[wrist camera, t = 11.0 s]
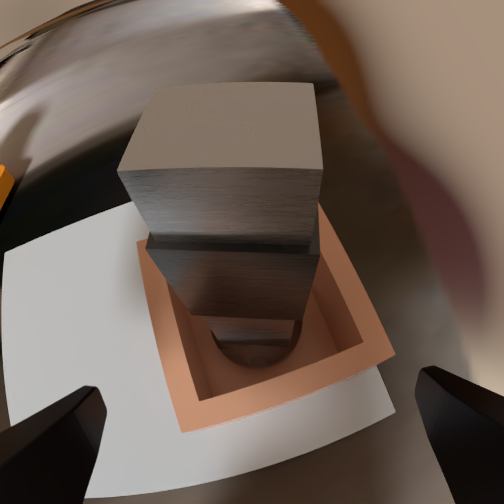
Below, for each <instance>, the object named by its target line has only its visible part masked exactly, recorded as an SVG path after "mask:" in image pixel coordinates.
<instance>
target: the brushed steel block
mask: <svg viewBox="0 0 504 504" xmlns="http://www.w3.org/2000/svg"><path fill="white" fill-rule="evenodd" d="M117 173H118V175H119V176H120V178H121V180H122V182H123V184H124V186H125V188H126V189H127V191H128V193H129V195H130V197H131V199H132V200H133V202H134V204H135V206H136V208H137V209H138V211H139V213H140V215H141V216H142V218H143V220H144V222H145V223H146V225H147V227H148V229H149V230H150V232H149V236H148V240H147V244H146V248H145V250H146V251H147V253H148V254H149V255H150V257H151V258H152V260H153V261H154V263H155V264H156V266H157V267H158V269H159V270H160V272H161V273H162V275H163V276H164V277H165V279H166V280H167V282H168V283H169V285H170V286H171V287H172V289H173V290H174V292H175V293H176V294H177V296H178V297H179V299H180V300H181V301H182V303H183V304H184V306H185V307H186V308H187V310H188V311H189V312H190V314H191V315H200V316H202V317H203V318H204V320H205V321H206V323H207V324H208V326H209V327H210V329H211V333H212V337H213V339H214V341H215V343H216V345H217V347H218V348H219V349H220V351H221V352H222V353H223V355H224V356H225V357H226V358H227V359H229V360H230V361H231V362H233V363H235V364H236V365H238V366H241V367H244V368H248V369H266V368H269V367H273V366H275V365H277V364H279V363H281V362H282V361H284V360H285V359H286V358H287V357H288V356H289V355H290V354H291V353H292V352H293V350H294V349H295V347H296V345H297V343H298V341H299V338H300V335H301V331H302V323H303V321H302V320H303V316H304V313H305V309H306V306H307V302H308V299H309V295H310V292H311V288H312V284H313V281H314V277H315V273H316V269H317V266H318V262H319V258H320V233H319V212H318V198H319V192H320V186H321V180H322V174H323V162H322V152H321V142H320V133H319V125H318V117H317V109H316V101H315V94H314V86H313V83H295V82H233V83H211V84H197V85H185V86H174V87H165V88H156V89H155V91H154V93H153V95H152V97H151V99H150V101H149V103H148V105H147V107H146V108H145V110H144V112H143V114H142V117H141V119H140V121H139V123H138V125H137V127H136V129H135V131H134V133H133V135H132V138H131V140H130V142H129V144H128V146H127V149H126V151H125V153H124V155H123V158H122V160H121V162H120V165H119V167H118V169H117Z"/></svg>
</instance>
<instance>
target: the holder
mask: <svg viewBox="0 0 504 504" xmlns="http://www.w3.org/2000/svg"><path fill="white" fill-rule="evenodd" d="M318 212H319V233H320V258H319V262H318V266H317V269H316V273H315V277H314V281H313V284H312V288H311V292H310V295H309V299H308V302H307V306H306V309H305V313H304V316H303V320H302V321H303V323H302V331H301V335H300V338H299V341H298V343H297V345H296V347H295V349H294V350H293V352H292V353H291V354H290V355H289V356H288V357H287V358H286V359H285V360H284V361H282V362H281V363H279V364H277V365H275V366H273V367H269V368H266V369H248V368H244V367H241V366H238V365H236V364H235V363H233V362H231V361H230V360H229V359H227V358H226V357H225V356H224V355H223V353H222V352H221V351H220V349H219V348H218V347H217V345H216V343H215V341H214V339H213V337H212V333H211V329H210V327H209V326H208V324H207V323H206V321H205V320H204V318H203V317H202V316H200V315H191V314H190V312H189V311H188V310H187V308H186V307H185V306H184V304H183V303H182V301H181V300H180V299H179V297H178V296H177V294H176V293H175V292H174V290H173V289H172V287H171V286H170V285H169V283H168V282H167V280H166V279H165V277H164V276H163V275H162V273H161V272H160V270H159V269H158V267H157V266H156V264H155V263H154V261H153V260H152V258H151V257H150V255H149V254H148V253H147V251H146V250H145V248H146V244H147V240H148V238H147V239H144V240H141V241H138V242H136V244H137V250H138V256H139V262H140V268H141V273H142V279H143V284H144V289H145V294H146V299H147V304H148V309H149V313H150V318H151V323H152V327H153V331H154V336H155V340H156V344H157V348H158V352H159V356H160V360H161V364H162V368H163V372H164V375H165V379H166V383H167V386H168V390H169V394H170V397H171V400H172V404H173V407H174V411H175V414H176V417H177V420H178V424H179V427H180V430H181V433H187V432H194V431H200V430H206V429H210V428H213V427H217V426H220V425H224V424H227V423H231V422H234V421H238V420H241V419H244V418H247V417H251V416H254V415H257V414H260V413H263V412H266V411H269V410H272V409H275V408H277V407H280V406H283V405H286V404H289V403H291V402H294V401H297V400H299V399H302V398H305V397H307V396H310V395H312V394H315V393H317V392H320V391H322V390H325V389H327V388H330V387H332V386H334V385H337V384H339V383H341V382H344V381H346V380H348V379H351V378H353V377H355V376H357V375H359V374H362V373H364V372H366V371H368V370H369V369H371V368H373V367H375V366H377V365H378V364H380V363H382V362H384V361H385V360H387V359H389V358H391V357H392V356H394V355H396V354H395V352H394V350H393V348H392V345H391V343H390V341H389V339H388V337H387V334H386V332H385V330H384V328H383V326H382V324H381V322H380V320H379V317H378V315H377V313H376V311H375V309H374V307H373V305H372V303H371V301H370V299H369V297H368V295H367V293H366V291H365V289H364V287H363V285H362V283H361V281H360V279H359V277H358V275H357V273H356V271H355V269H354V267H353V265H352V263H351V261H350V259H349V257H348V255H347V254H346V252H345V250H344V248H343V246H342V244H341V242H340V240H339V239H338V237H337V235H336V233H335V231H334V229H333V228H332V226H331V224H330V222H329V220H328V218H327V217H326V215H325V213H324V211H323V210H322V208H321V206H320V204H319V202H318Z"/></svg>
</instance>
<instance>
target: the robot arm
mask: <svg viewBox="0 0 504 504" xmlns="http://www.w3.org/2000/svg"><path fill="white" fill-rule="evenodd" d="M415 399H416V402H417V405H418V408H419V411H420V414H421V417H422V421H423V424H424V427H425V430H426V433H427V436H428V439H429V442H430V444H431V446H432V449H433V451H434V453H435V455H436V458H437V460H438V462H439V465H440V467H441V469H442V472H443V474H444V477H445V479H446V482H447V484H448V486H449V489H450V491H451V494H452V496H453V499H454V502H455V504H504V396H501V395H499V394H497V393H494V392H492V391H490V390H488V389H486V388H483V387H481V386H479V385H477V384H474V383H472V382H470V381H468V380H465V379H463V378H461V377H459V376H457V375H454V374H452V373H450V372H448V371H446V370H443V369H441V368H439V367H437V366H434V365H433V366H428V367H423V368H422V369H421V370H420V372H419V375H418V379H417V384H416V387H415ZM106 418H107V408H106V405H105V403H104V400H103V398H102V395H101V392H100V390H99V389H98V387H96V386H89V385H84V386H82V387H80V388H79V389H77V390H75V391H74V392H72V393H70V394H68V395H67V396H65V397H63V398H61V399H60V400H58V401H56V402H54V403H53V404H51V405H49V406H47V407H46V408H44V409H42V410H40V411H39V412H37V413H35V414H33V415H31V416H30V417H28V418H26V419H24V420H22V421H21V422H19V423H17V424H15V425H13V426H12V427H10V428H8V429H6V430H4V431H3V432H1V433H0V504H83V501H84V498H85V495H86V491H87V488H88V485H89V482H90V479H91V476H92V473H93V470H94V467H95V464H96V460H97V457H98V453H99V449H100V444H101V440H102V435H103V431H104V426H105V422H106Z"/></svg>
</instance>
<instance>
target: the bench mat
mask: <svg viewBox="0 0 504 504" xmlns="http://www.w3.org/2000/svg"><path fill="white" fill-rule="evenodd" d="M149 232H150V230H149V229H148V227H147V225H146V223H145V222H144V220H143V218H142V216H141V215H140V213H139V211H138V209H137V208H136V206H135V204H134V202H133V201H132V202H129V203H126V204H123V205H121V206H118V207H115V208H112V209H110V210H107V211H104V212H102V213H99V214H96V215H94V216H91V217H88V218H86V219H83V220H81V221H78V222H76V223H73V224H71V225H68V226H66V227H63V228H61V229H58V230H56V231H54V232H51V233H49V234H46V235H44V236H42V237H39V238H37V239H35V240H32V241H30V242H28V243H26V244H23V245H21V246H19V247H17V248H14V249H12V250H10V251H8V252H6V253H5V257H4V268H3V283H2V353H3V368H4V379H5V388H6V396H7V404H8V410H9V417H10V423H11V427H12V426H13V425H15V424H17V423H19V422H21V421H22V420H24V419H26V418H28V417H30V416H31V415H33V414H35V413H37V412H39V411H40V410H42V409H44V408H46V407H47V406H49V405H51V404H53V403H54V402H56V401H58V400H60V399H61V398H63V397H65V396H67V395H68V394H70V393H72V392H74V391H75V390H77V389H79V388H80V387H82V386H84V385H89V386H96V387H98V389H99V390H100V392H101V395H102V398H103V400H104V403H105V405H106V408H107V418H106V422H105V426H104V431H103V435H102V440H101V444H100V449H99V453H98V457H97V460H96V464H95V467H94V470H93V473H92V476H91V479H90V482H89V485H88V488H87V491H86V495H85V498H99V497H114V496H126V495H135V494H144V493H151V492H158V491H165V490H171V489H177V488H182V487H188V486H193V485H198V484H202V483H207V482H211V481H216V480H220V479H224V478H228V477H232V476H236V475H239V474H243V473H247V472H250V471H254V470H257V469H260V468H264V467H267V466H270V465H273V464H276V463H279V462H282V461H285V460H288V459H291V458H294V457H296V456H299V455H302V454H305V453H307V452H310V451H312V450H315V449H318V448H320V447H323V446H325V445H327V444H330V443H332V442H335V441H337V440H339V439H342V438H344V437H346V436H348V435H351V434H353V433H355V432H357V431H359V430H361V429H363V428H366V427H368V426H370V425H372V424H374V423H376V422H378V421H380V420H382V419H384V418H386V417H388V416H389V415H391V414H393V413H395V409H394V407H393V404H392V402H391V399H390V397H389V394H388V392H387V389H386V387H385V385H384V382H383V380H382V378H381V375H380V373H379V370H378V368H377V366H375V367H373V368H371V369H369V370H368V371H366V372H364V373H362V374H359V375H357V376H355V377H353V378H351V379H348V380H346V381H344V382H341V383H339V384H337V385H334V386H332V387H330V388H327V389H325V390H322V391H320V392H317V393H315V394H312V395H310V396H307V397H305V398H302V399H299V400H297V401H294V402H291V403H289V404H286V405H283V406H280V407H277V408H275V409H272V410H269V411H266V412H263V413H260V414H257V415H254V416H251V417H247V418H244V419H241V420H238V421H234V422H231V423H227V424H224V425H220V426H217V427H213V428H210V429H206V430H200V431H194V432H187V433H181V430H180V427H179V424H178V420H177V417H176V414H175V411H174V407H173V404H172V400H171V397H170V394H169V390H168V386H167V383H166V379H165V375H164V372H163V368H162V364H161V360H160V356H159V352H158V348H157V344H156V340H155V336H154V331H153V327H152V323H151V318H150V313H149V309H148V304H147V299H146V294H145V289H144V284H143V279H142V273H141V268H140V262H139V256H138V250H137V244H136V242H138V241H141V240H144V239H147V238H148V236H149Z"/></svg>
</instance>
